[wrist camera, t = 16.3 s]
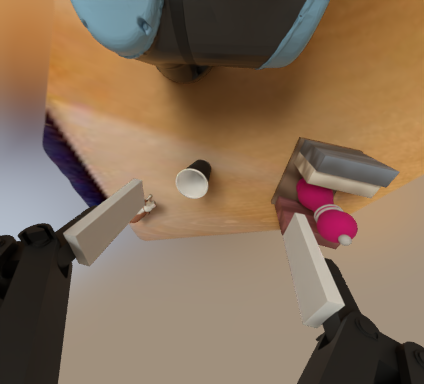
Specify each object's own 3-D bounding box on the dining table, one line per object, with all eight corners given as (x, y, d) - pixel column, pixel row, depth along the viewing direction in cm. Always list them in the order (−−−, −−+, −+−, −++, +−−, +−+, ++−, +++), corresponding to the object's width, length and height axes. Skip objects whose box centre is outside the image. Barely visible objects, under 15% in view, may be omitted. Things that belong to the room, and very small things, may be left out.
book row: (299, 137, 39) (320, 155, 28) (360, 150, 38) (408, 174, 27) (270, 201, 49) (277, 233, 38) (318, 213, 48) (340, 250, 37)
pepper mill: (307, 202, 46) (342, 264, 29) (287, 187, 45) (312, 244, 28) (331, 184, 42) (386, 243, 25) (310, 168, 41) (353, 219, 24)
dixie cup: (212, 182, 50) (203, 203, 41) (187, 174, 50) (173, 193, 41) (219, 159, 46) (211, 175, 37) (192, 150, 46) (177, 164, 37)
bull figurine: (165, 197, 56) (154, 212, 49) (143, 214, 62) (130, 229, 56) (156, 188, 55) (143, 201, 48) (134, 206, 61) (120, 220, 54)
